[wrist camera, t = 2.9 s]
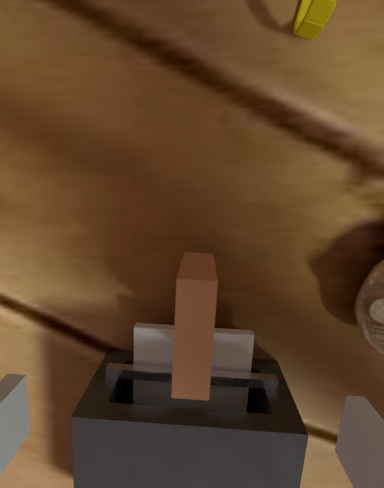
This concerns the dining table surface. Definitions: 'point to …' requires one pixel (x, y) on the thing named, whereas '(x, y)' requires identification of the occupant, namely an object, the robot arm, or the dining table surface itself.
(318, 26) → the watch
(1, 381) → the robot arm
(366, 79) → the dining table surface
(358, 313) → the pottery oil lamp
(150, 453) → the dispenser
